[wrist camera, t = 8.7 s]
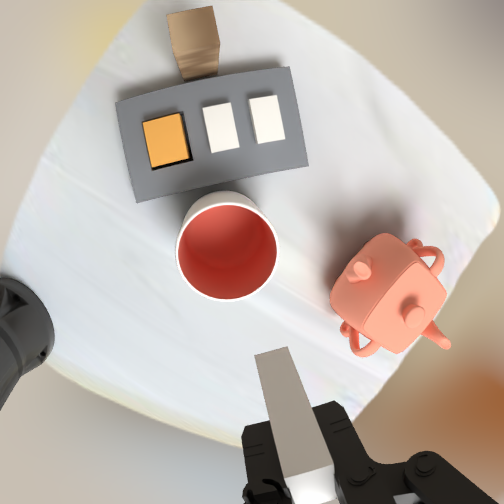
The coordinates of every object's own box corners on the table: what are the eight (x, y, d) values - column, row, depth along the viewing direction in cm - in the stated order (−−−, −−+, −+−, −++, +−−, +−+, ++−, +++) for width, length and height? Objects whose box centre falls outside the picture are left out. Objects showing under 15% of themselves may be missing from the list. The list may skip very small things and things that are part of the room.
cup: (182, 265, 41) (174, 299, 31) (185, 186, 38) (176, 198, 28) (259, 269, 42) (273, 303, 33) (267, 192, 39) (285, 205, 30)
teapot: (317, 232, 42) (357, 265, 30) (420, 222, 43) (476, 247, 31) (317, 331, 46) (347, 384, 34) (410, 312, 48) (454, 352, 36)
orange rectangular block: (157, 166, 35) (151, 167, 32) (148, 125, 34) (142, 122, 31) (190, 157, 36) (188, 158, 33) (181, 116, 34) (179, 113, 31)
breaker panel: (141, 199, 38) (133, 205, 33) (121, 106, 34) (111, 100, 29) (301, 164, 39) (312, 166, 34) (283, 72, 35) (292, 63, 31)
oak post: (184, 81, 34) (173, 52, 23) (178, 52, 33) (166, 14, 21) (217, 74, 34) (220, 43, 23) (211, 45, 33) (212, 5, 21)
